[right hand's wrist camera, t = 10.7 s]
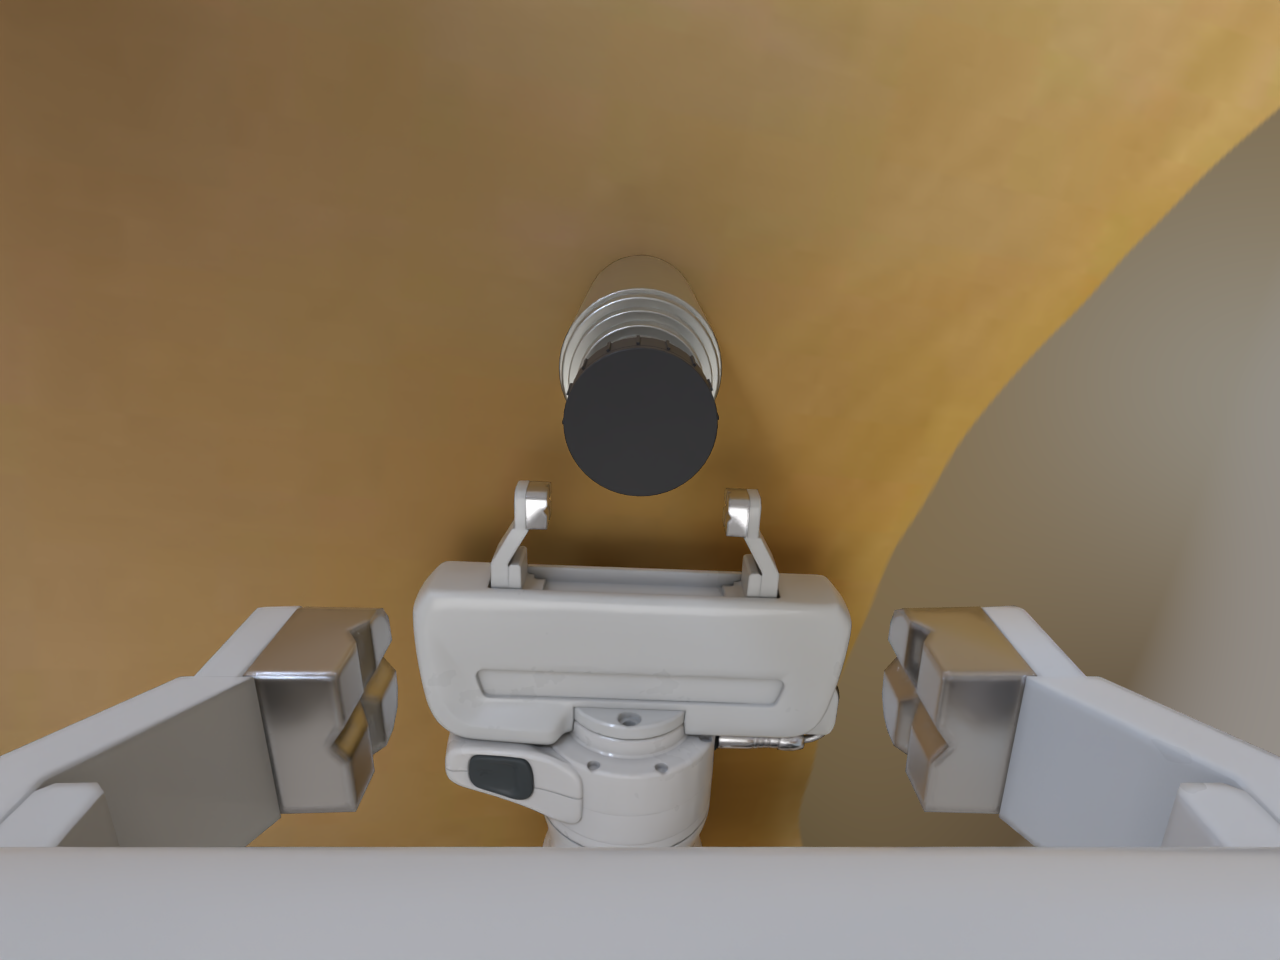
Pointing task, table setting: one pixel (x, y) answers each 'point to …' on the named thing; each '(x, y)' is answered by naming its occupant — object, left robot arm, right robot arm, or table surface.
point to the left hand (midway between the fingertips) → (638, 488)
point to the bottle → (640, 316)
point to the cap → (640, 417)
